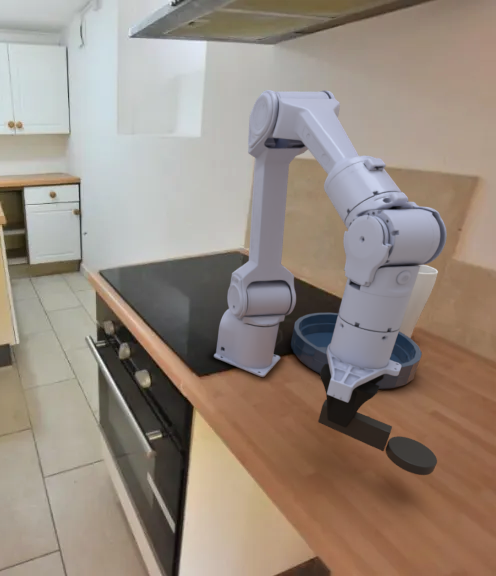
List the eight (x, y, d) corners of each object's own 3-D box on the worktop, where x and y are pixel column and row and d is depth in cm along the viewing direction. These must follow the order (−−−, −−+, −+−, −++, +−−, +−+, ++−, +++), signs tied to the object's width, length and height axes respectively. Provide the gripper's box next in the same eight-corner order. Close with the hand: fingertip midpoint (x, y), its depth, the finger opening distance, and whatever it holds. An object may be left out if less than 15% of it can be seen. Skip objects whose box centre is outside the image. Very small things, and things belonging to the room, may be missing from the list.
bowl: (274, 359, 70) (278, 338, 68) (308, 322, 83) (312, 304, 81) (404, 407, 58) (413, 383, 56) (419, 355, 71) (427, 334, 69)
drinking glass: (401, 329, 80) (423, 262, 74) (422, 346, 74) (448, 274, 68) (367, 328, 81) (386, 261, 75) (385, 344, 75) (408, 273, 69)
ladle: (314, 428, 47) (318, 410, 46) (324, 410, 50) (329, 393, 49) (431, 482, 40) (440, 462, 39) (435, 457, 43) (443, 438, 42)
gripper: (402, 361, 34) (363, 472, 39) (421, 308, 44) (388, 403, 49) (317, 334, 38) (293, 438, 43) (352, 292, 48) (328, 381, 53)
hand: (339, 418), depth 46 cm, fingers closed on ladle
